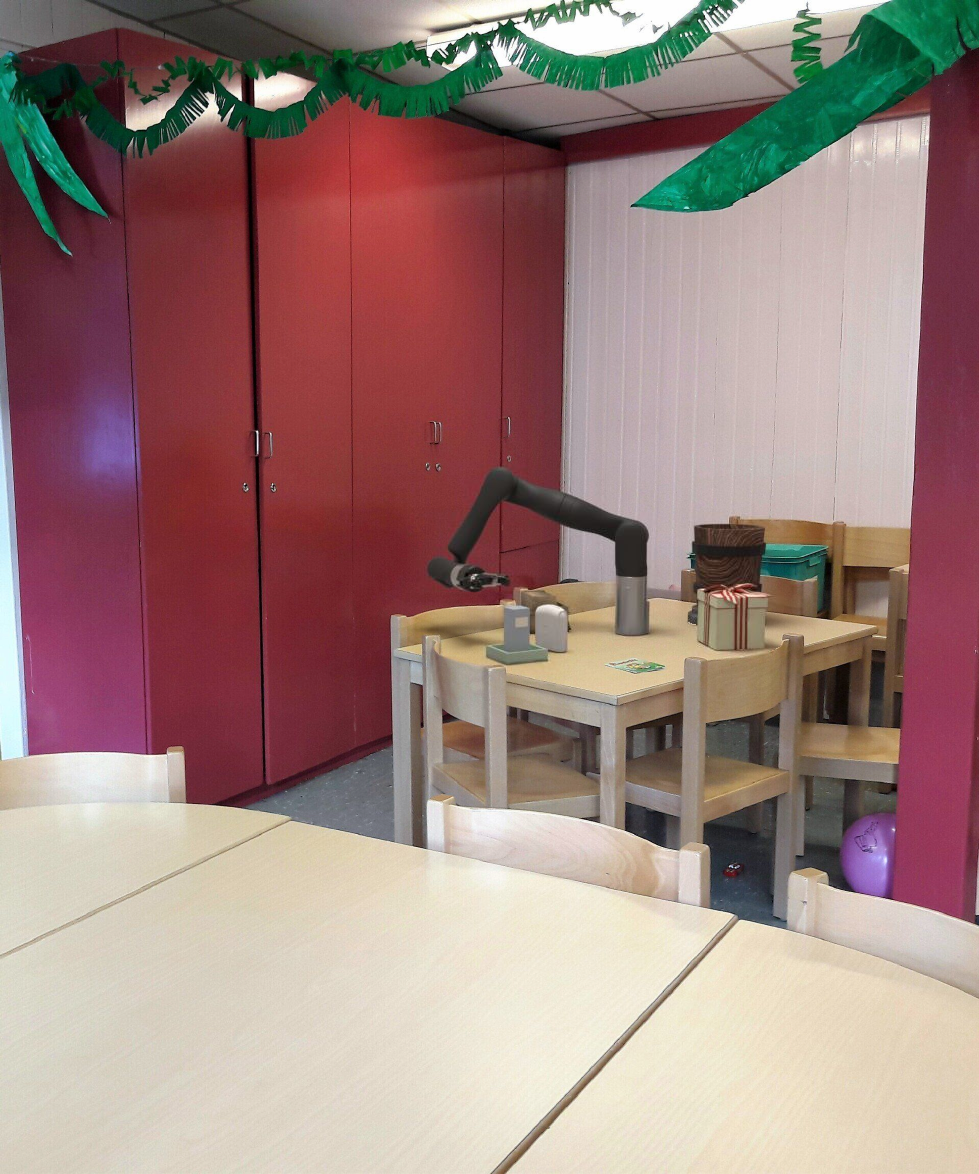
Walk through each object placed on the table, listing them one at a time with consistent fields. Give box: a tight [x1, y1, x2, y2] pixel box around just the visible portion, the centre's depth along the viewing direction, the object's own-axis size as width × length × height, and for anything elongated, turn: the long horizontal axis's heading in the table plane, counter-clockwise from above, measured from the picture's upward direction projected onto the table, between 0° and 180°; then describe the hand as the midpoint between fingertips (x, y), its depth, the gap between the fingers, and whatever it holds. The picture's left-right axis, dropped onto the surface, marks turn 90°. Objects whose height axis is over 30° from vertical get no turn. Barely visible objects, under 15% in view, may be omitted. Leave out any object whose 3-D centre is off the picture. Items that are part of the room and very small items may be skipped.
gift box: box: [696, 583, 775, 651], centre depth 299 cm, size 17×18×17 cm
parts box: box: [503, 605, 531, 653], centre depth 283 cm, size 5×5×13 cm
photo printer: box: [534, 605, 568, 653], centre depth 295 cm, size 10×4×12 cm, turn 39°
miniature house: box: [520, 589, 572, 635], centre depth 323 cm, size 15×14×11 cm
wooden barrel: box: [687, 523, 767, 625], centre depth 337 cm, size 24×30×30 cm
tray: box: [485, 642, 549, 666], centre depth 284 cm, size 12×12×3 cm
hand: (494, 583), depth 294 cm, fingers open, 8 cm apart
